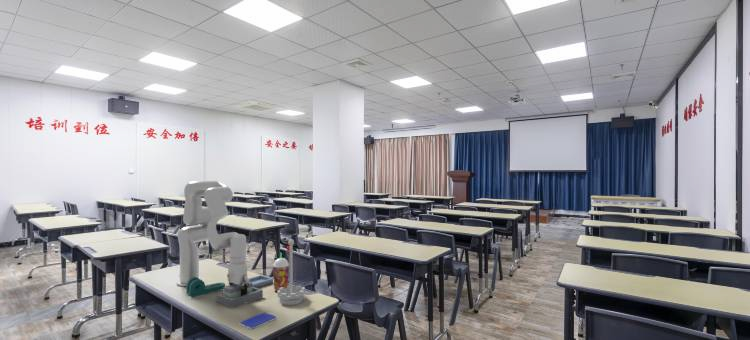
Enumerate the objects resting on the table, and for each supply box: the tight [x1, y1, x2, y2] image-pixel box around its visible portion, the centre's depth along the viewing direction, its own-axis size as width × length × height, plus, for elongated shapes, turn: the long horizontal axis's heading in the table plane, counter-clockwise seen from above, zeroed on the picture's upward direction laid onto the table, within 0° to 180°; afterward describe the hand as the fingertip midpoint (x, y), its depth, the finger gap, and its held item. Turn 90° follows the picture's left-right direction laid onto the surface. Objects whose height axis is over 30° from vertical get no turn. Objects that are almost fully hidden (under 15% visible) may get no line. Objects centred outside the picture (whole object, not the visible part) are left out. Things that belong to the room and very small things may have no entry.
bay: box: [216, 287, 264, 309], centre depth 172 cm, size 12×17×4 cm
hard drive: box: [238, 311, 277, 330], centre depth 148 cm, size 2×8×12 cm
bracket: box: [186, 277, 226, 298], centre depth 184 cm, size 18×7×8 cm, turn 134°
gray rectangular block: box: [222, 282, 252, 299], centre depth 174 cm, size 6×12×7 cm, turn 144°
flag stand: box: [276, 238, 306, 306], centre depth 171 cm, size 13×13×30 cm
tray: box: [248, 274, 274, 289], centre depth 194 cm, size 11×17×2 cm, turn 144°
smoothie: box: [272, 252, 290, 293], centre depth 185 cm, size 8×8×20 cm
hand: (238, 294), depth 173 cm, fingers open, 9 cm apart
